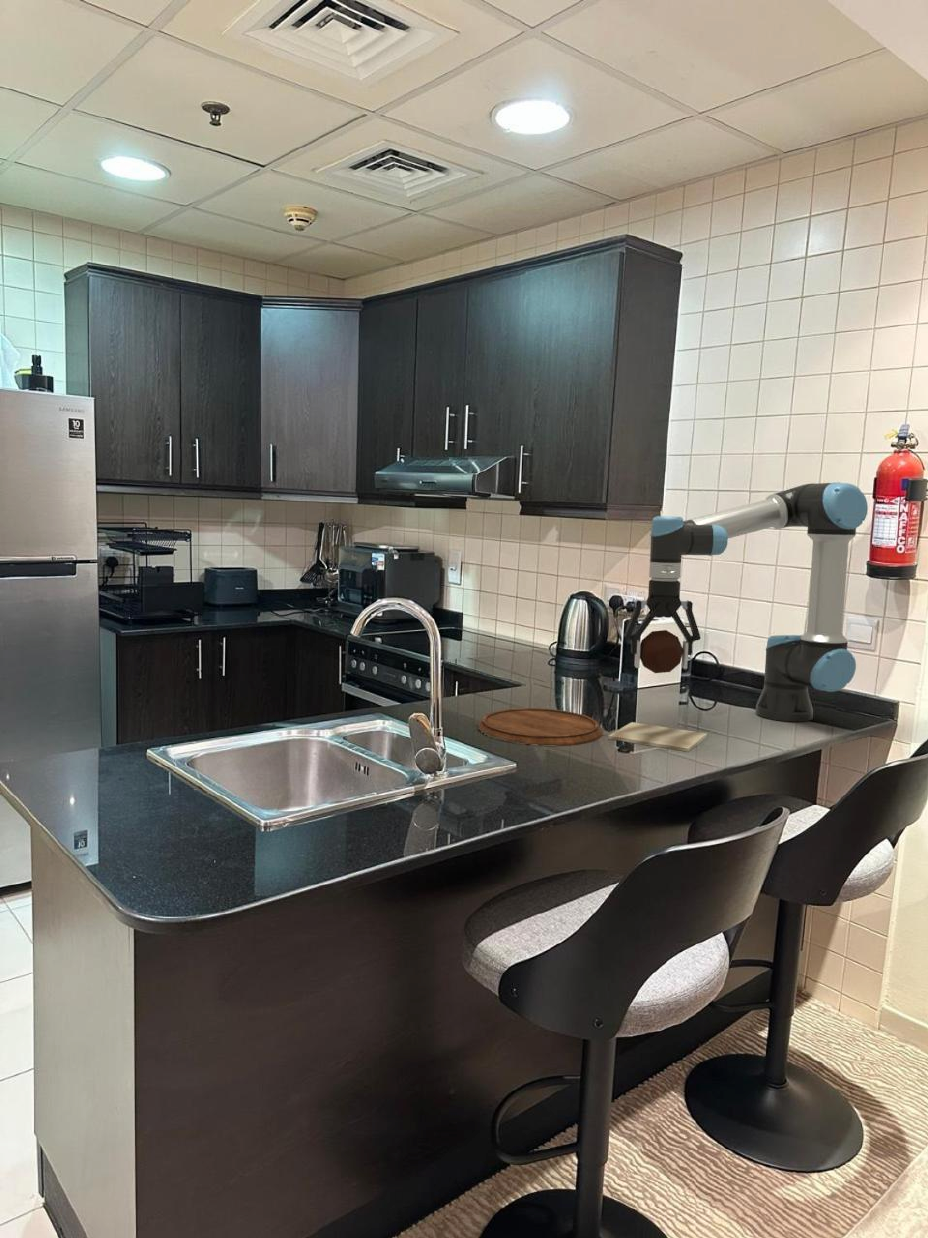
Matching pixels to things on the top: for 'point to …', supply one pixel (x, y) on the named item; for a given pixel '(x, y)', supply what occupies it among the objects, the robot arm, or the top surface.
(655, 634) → the chocolate ice cream sundae
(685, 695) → the top surface
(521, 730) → the cutting board
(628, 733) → the birch pad
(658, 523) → the robot arm
